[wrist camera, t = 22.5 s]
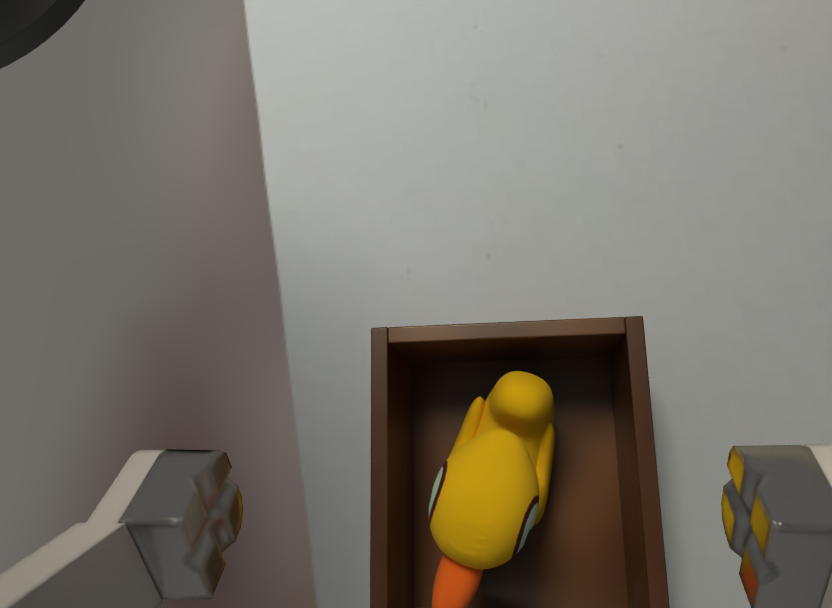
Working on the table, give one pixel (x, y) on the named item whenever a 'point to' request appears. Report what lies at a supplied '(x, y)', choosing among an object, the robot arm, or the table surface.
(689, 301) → the table surface
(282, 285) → the table surface
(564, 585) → the holder
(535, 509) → the duckling
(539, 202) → the table surface
